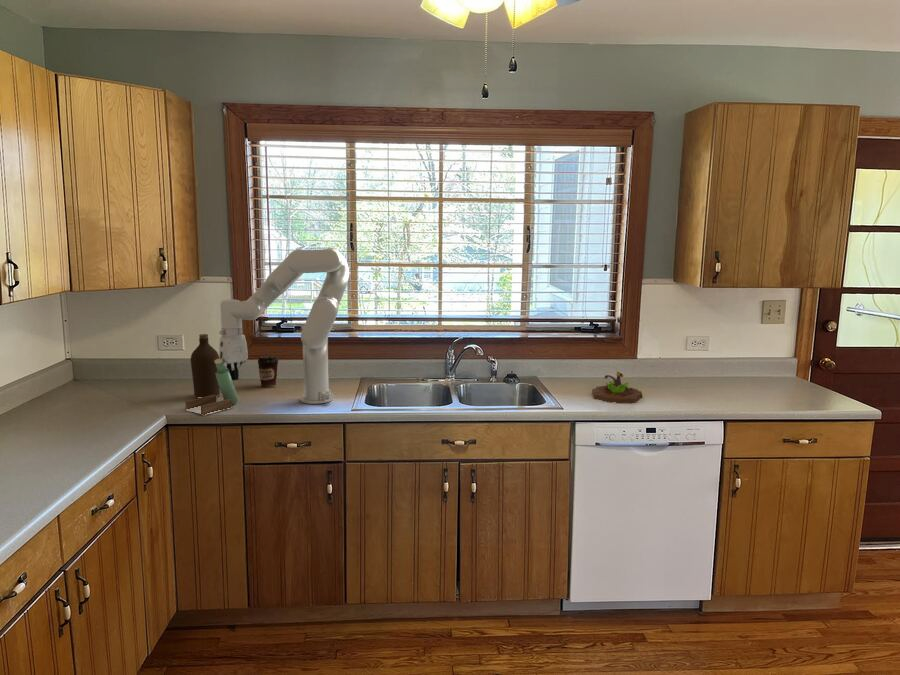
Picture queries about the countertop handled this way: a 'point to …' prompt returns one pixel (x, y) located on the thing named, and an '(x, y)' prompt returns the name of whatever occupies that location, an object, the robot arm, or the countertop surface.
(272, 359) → the coffee cup
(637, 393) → the plant
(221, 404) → the cradle
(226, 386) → the bottle
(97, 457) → the countertop surface
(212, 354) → the olive oil
